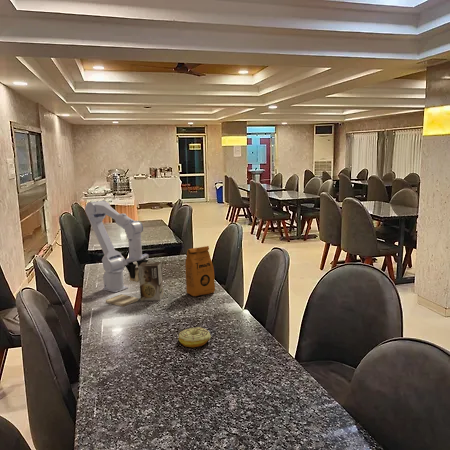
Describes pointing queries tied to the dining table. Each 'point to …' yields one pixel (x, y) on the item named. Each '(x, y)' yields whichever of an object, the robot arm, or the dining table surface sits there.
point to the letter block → (135, 275)
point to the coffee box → (150, 281)
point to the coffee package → (199, 272)
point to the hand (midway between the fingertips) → (137, 276)
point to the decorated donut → (194, 337)
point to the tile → (122, 300)
